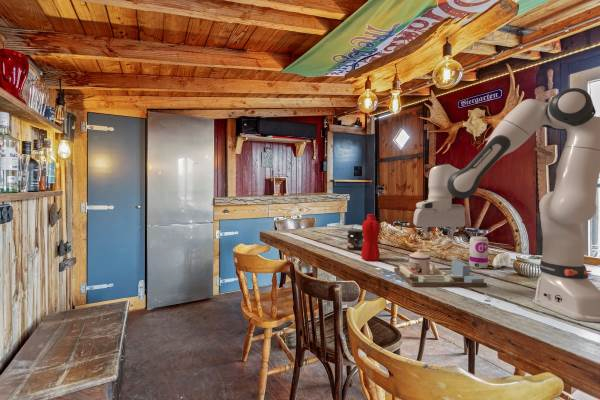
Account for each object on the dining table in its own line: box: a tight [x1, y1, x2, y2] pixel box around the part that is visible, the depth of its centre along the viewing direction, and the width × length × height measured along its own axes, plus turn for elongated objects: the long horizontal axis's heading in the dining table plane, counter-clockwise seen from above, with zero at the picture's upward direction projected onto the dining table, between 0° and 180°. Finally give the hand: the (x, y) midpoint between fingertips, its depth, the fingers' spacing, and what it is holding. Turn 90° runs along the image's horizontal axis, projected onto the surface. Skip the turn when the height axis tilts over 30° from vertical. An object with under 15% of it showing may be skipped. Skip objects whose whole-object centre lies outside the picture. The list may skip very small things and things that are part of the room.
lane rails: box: [393, 267, 488, 288], centre depth 139 cm, size 24×30×2 cm
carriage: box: [399, 260, 471, 277], centre depth 142 cm, size 14×27×6 cm, turn 90°
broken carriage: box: [418, 274, 485, 282], centre depth 131 cm, size 6×25×3 cm, turn 90°
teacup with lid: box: [408, 249, 436, 275], centre depth 142 cm, size 12×9×12 cm
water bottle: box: [360, 213, 383, 262], centre depth 173 cm, size 9×11×25 cm
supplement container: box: [346, 229, 364, 251], centre depth 203 cm, size 10×10×12 cm
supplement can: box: [468, 235, 490, 269], centre depth 159 cm, size 8×8×15 cm
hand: (438, 237), depth 130 cm, fingers open, 8 cm apart
